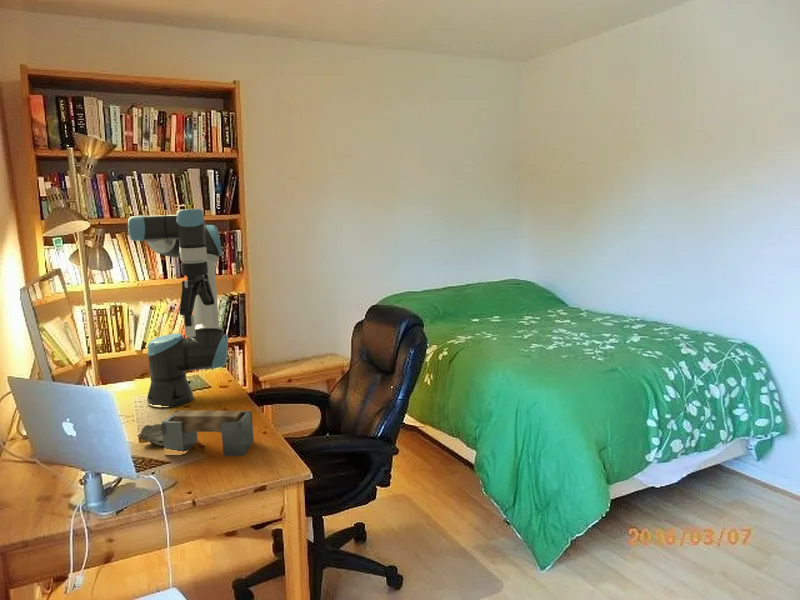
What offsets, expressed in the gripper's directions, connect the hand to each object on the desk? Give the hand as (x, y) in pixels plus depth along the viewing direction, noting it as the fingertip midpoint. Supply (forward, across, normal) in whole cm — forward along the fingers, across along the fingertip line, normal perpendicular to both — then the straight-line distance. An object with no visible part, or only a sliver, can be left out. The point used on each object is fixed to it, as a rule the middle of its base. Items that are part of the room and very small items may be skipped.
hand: (199, 330), depth 185 cm
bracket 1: (+30, +18, -1) cm, 35 cm away
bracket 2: (+30, +18, +16) cm, 38 cm away
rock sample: (+31, +13, -8) cm, 34 cm away
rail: (+24, +18, +8) cm, 31 cm away
